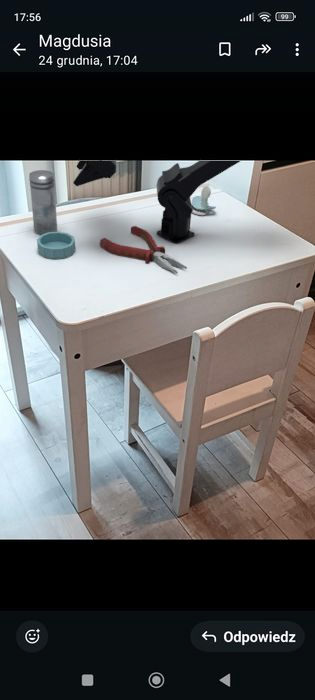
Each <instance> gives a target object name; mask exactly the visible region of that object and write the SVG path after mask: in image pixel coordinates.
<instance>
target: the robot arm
mask: <svg viewBox="0 0 315 700" xmlns="http://www.w3.org/2000/svg"><path fill="white" fill-rule="evenodd" d="M240 162H241V161H200V160H198V161H195V163H193V164H192V165H190V166H186V167H181V166H180V164H179V163H175V164H174V165H173V166H171V167H170V168H169V169H167V170H163V171H161V173H162V174H161V175H160V176H159V178H158V179H157V181H156V195H157V201H158V203H159V205H160V206H161V207H163V208H164V210H163V211H162V218H161V227H160V229H159V230H157V231H156V235H158V236H160V237H162V238H164V239H166V240H168V241H170V242H171V243H174V244H180V243H182V242H184V241H186V240H188V239H190V238H193V237H194V236H195V235H196V234H195V232H193V231H191V230H190V229H191V221H192V220H191V219H192V214H193V213H192V211H193V210H194V209H193V207H192V205H191V204H192V199H191V197H192V195H193V194H195V192H196V191H197V189H198V188H199V187H200V186H202V185H203V184H205V183H206V182H209V181H210V180H213V178H215V177H217V176H218V175H220V174H222V173H223V172H225V171H227V170H228V169H230V168H232V167H233V166H235V165H237V164H238V163H240ZM76 168H77V169H78V170H79V173H78V175H76V177H75V179H74V181H73V184H74V185H75V187H79V186H80V187H81V186H83V185H85V184H88V183H91V182H95V181H98V180H102V179H111V178H112V176H114V175H115V174H116V173H117V160H116V161H80V160H79V161H78V163H77V164H76Z"/></svg>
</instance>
